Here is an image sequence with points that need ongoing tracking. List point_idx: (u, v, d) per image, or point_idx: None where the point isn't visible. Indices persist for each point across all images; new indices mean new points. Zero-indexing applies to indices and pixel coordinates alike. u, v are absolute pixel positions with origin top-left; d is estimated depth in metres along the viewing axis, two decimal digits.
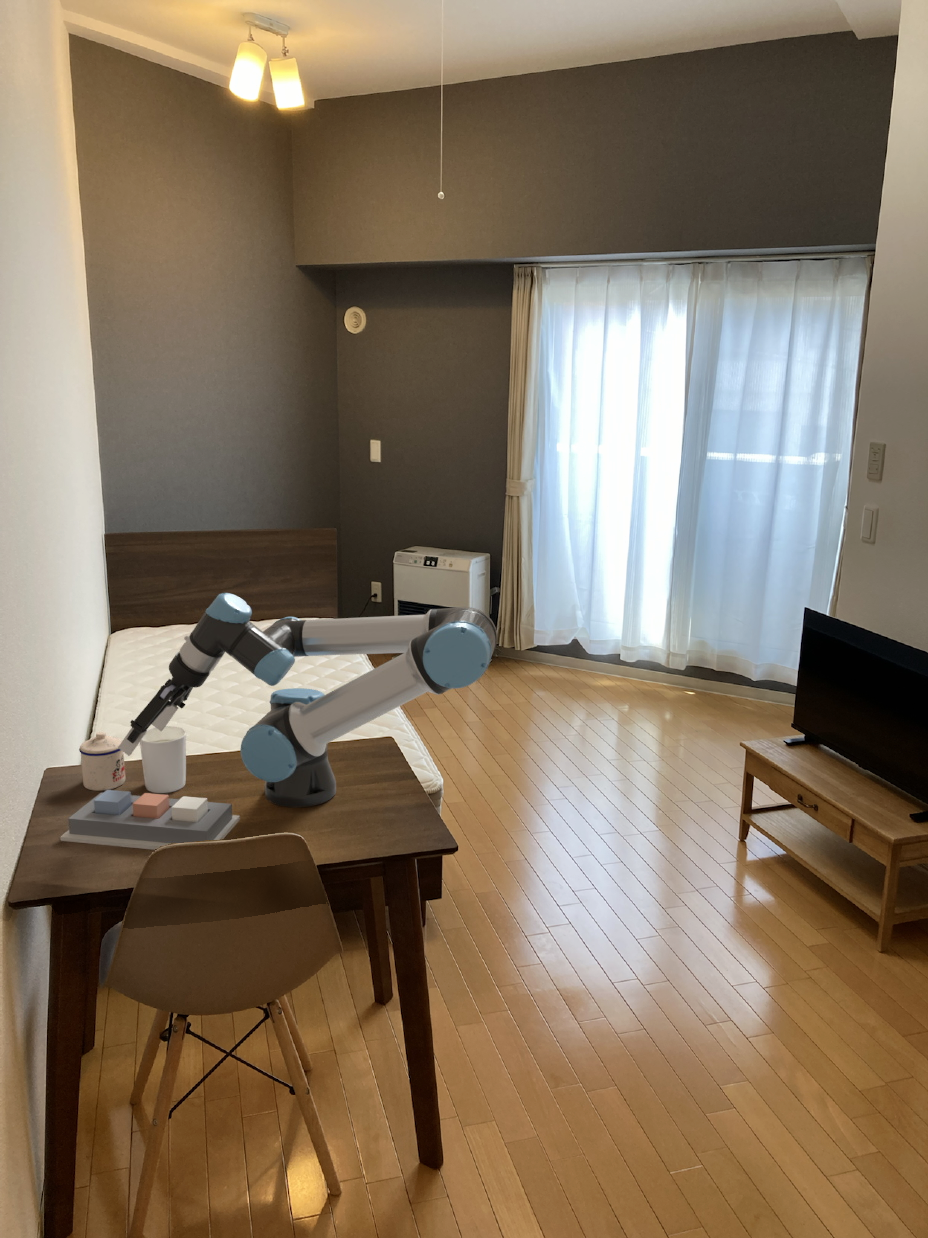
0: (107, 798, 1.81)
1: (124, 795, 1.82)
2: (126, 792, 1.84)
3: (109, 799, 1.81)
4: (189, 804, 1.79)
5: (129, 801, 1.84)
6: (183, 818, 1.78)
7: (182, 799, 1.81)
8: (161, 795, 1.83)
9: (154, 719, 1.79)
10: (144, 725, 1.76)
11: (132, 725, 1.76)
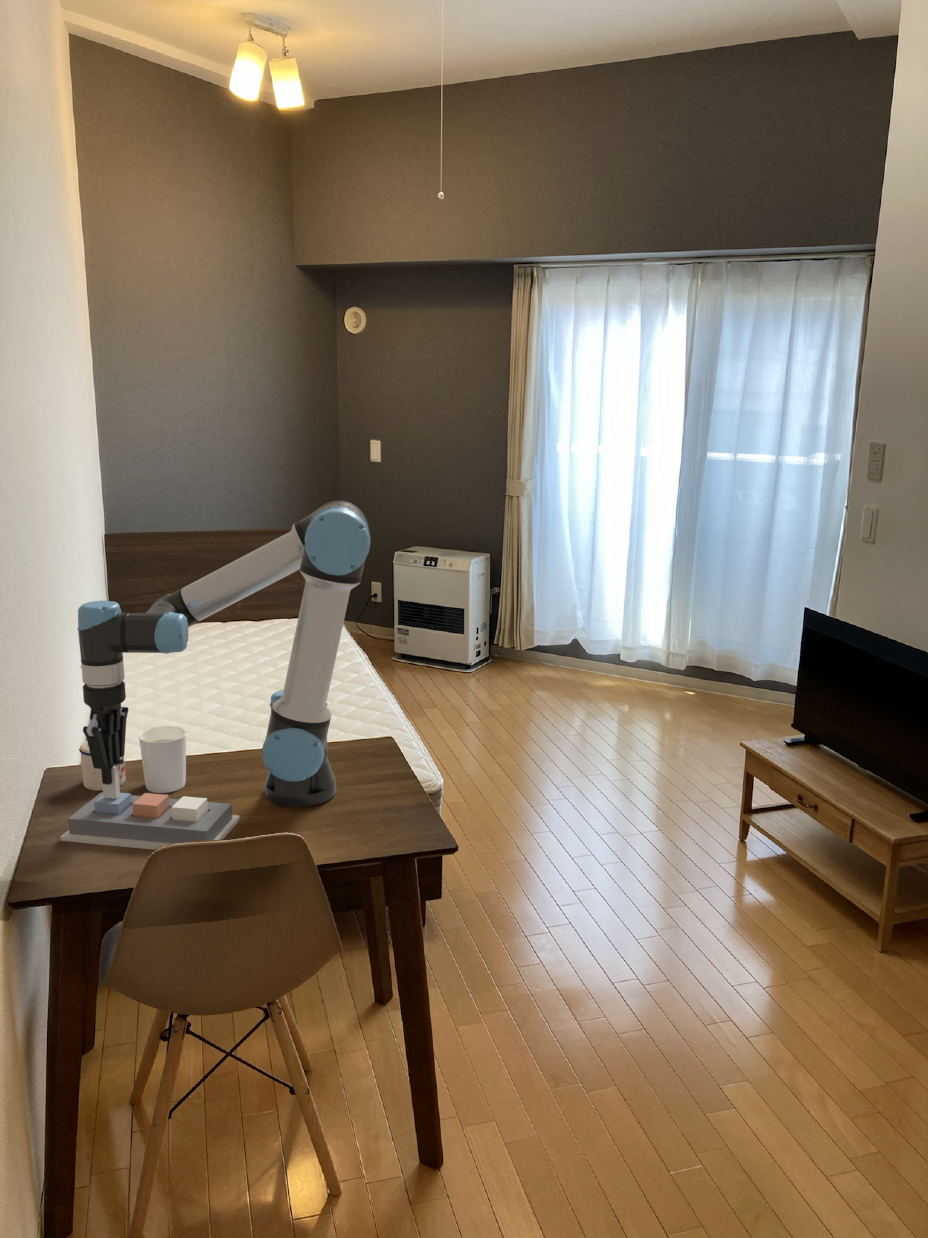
0: (107, 800, 1.81)
1: (124, 797, 1.83)
2: (126, 794, 1.84)
3: (109, 801, 1.81)
4: (189, 804, 1.79)
5: (129, 803, 1.84)
6: (183, 818, 1.78)
7: (182, 799, 1.81)
8: (161, 795, 1.83)
9: (109, 754, 1.78)
10: (102, 763, 1.76)
11: (95, 766, 1.77)
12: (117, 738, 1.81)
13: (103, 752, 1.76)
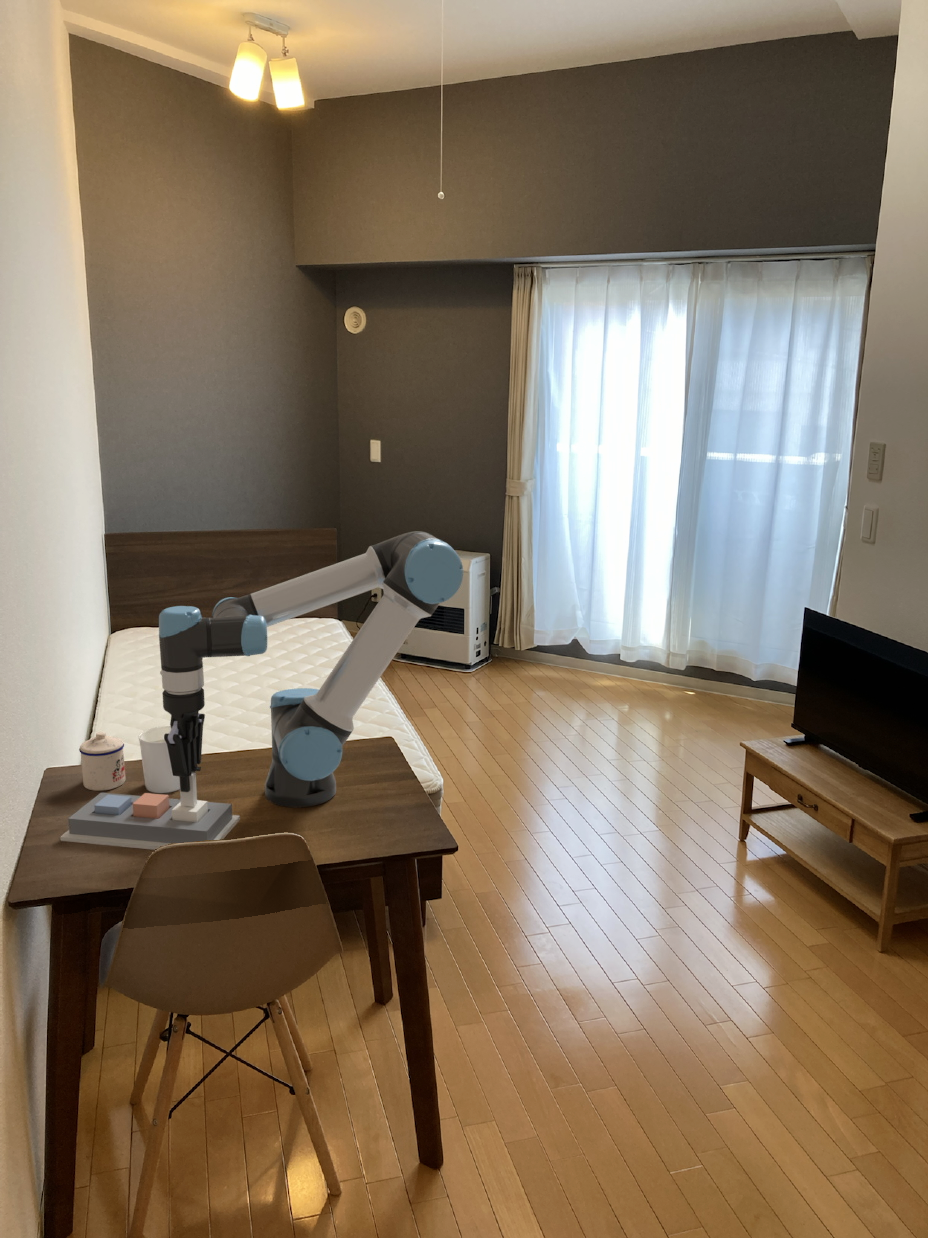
0: (108, 803, 1.82)
1: (124, 800, 1.83)
2: (126, 797, 1.84)
3: (109, 804, 1.81)
4: (189, 806, 1.80)
5: (129, 806, 1.84)
6: None
7: None
8: (161, 795, 1.83)
9: (188, 761, 1.76)
10: (182, 770, 1.74)
11: (174, 774, 1.75)
12: (195, 745, 1.78)
13: (183, 759, 1.73)
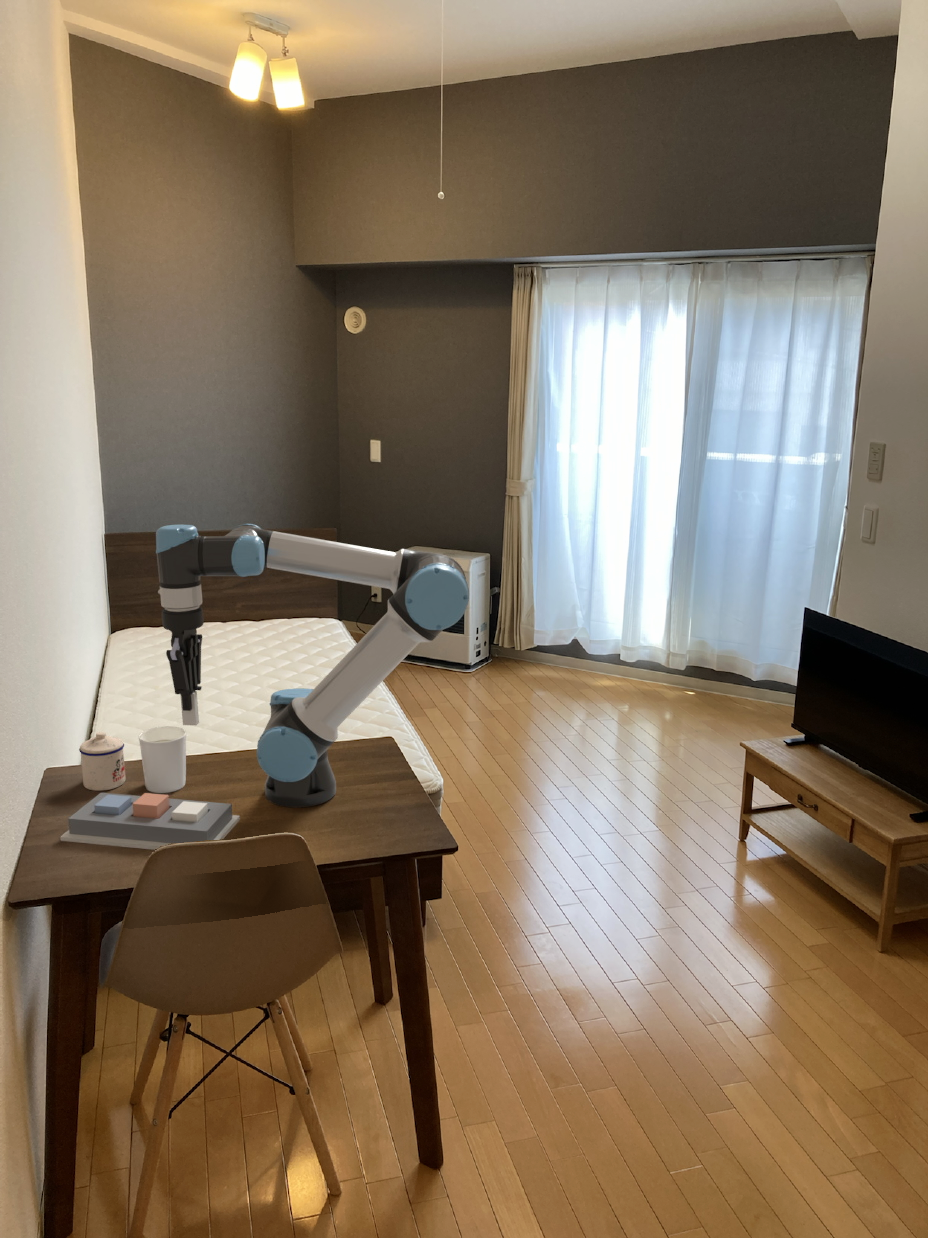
0: (108, 803, 1.82)
1: (124, 800, 1.83)
2: (126, 797, 1.84)
3: (109, 804, 1.81)
4: (189, 809, 1.80)
5: (129, 806, 1.84)
6: None
7: (182, 804, 1.82)
8: (161, 795, 1.83)
9: (190, 679, 1.78)
10: (184, 687, 1.76)
11: (176, 691, 1.76)
12: (195, 664, 1.80)
13: (185, 676, 1.75)
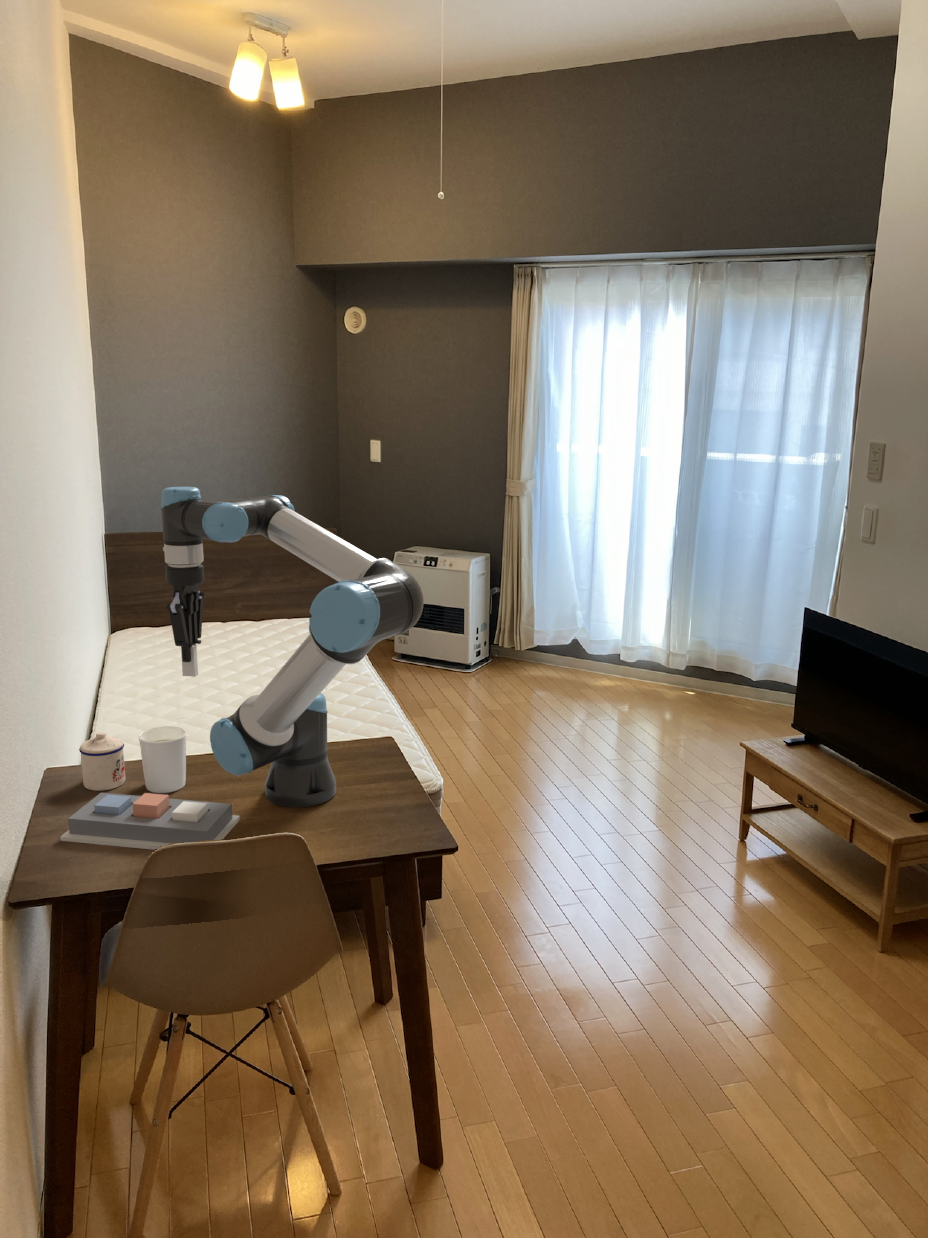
0: (108, 803, 1.82)
1: (124, 800, 1.83)
2: (126, 797, 1.84)
3: (109, 804, 1.81)
4: (189, 809, 1.80)
5: (129, 806, 1.84)
6: None
7: (182, 804, 1.82)
8: (161, 795, 1.83)
9: (189, 632, 1.89)
10: (183, 639, 1.87)
11: (176, 643, 1.88)
12: (195, 619, 1.92)
13: (184, 629, 1.87)
